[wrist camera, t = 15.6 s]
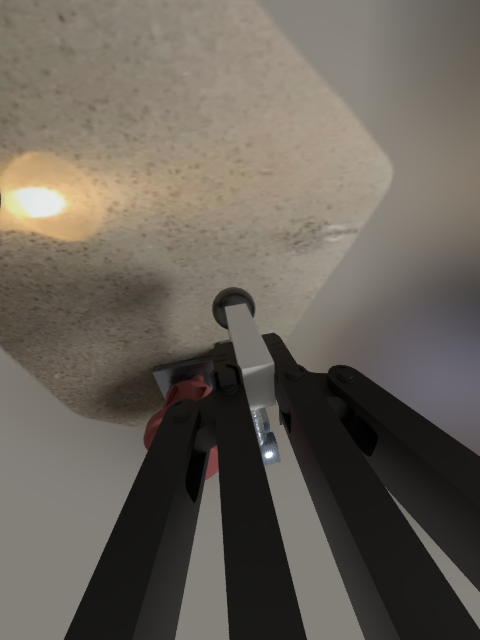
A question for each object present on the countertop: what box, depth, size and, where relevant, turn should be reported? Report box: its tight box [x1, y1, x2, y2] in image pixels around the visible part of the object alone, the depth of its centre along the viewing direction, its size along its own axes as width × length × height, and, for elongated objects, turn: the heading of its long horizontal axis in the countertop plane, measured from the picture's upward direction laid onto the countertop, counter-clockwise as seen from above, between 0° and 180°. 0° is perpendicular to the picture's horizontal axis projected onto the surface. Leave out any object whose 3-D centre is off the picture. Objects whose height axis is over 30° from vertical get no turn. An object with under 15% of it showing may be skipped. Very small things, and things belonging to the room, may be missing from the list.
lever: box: [212, 287, 280, 466], centre depth 17 cm, size 16×4×4 cm, turn 7°
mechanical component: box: [144, 375, 219, 480], centre depth 26 cm, size 12×10×10 cm
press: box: [152, 340, 270, 433], centre depth 26 cm, size 11×15×14 cm
